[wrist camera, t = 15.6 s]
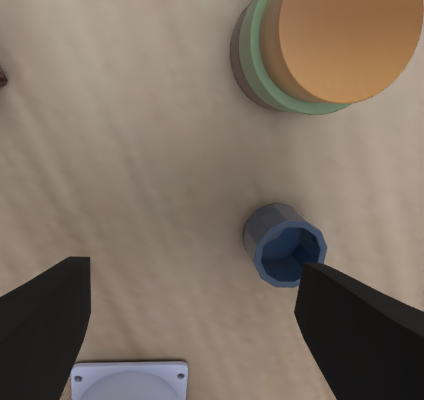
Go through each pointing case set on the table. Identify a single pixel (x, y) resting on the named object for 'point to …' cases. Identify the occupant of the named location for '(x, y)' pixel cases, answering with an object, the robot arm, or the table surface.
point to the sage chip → (259, 75)
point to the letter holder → (2, 79)
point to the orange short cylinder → (338, 46)
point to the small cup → (282, 244)
